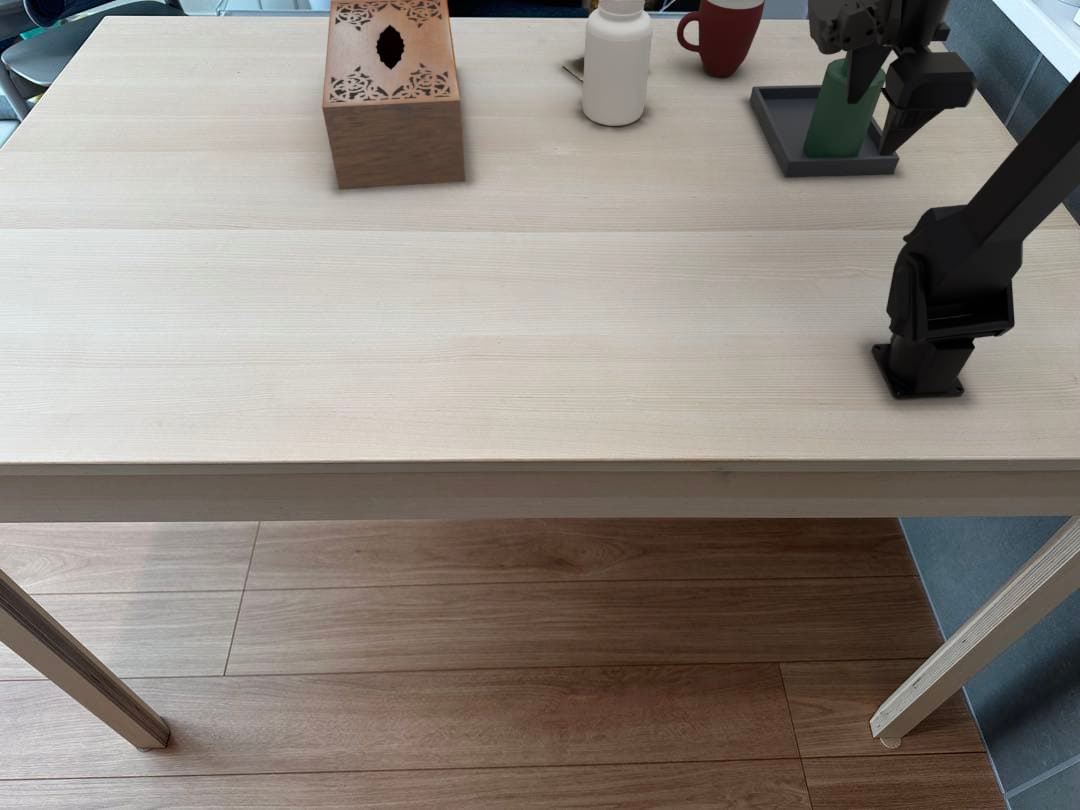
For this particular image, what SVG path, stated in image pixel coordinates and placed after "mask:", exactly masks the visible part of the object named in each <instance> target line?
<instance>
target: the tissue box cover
mask: <svg viewBox="0 0 1080 810" xmlns="http://www.w3.org/2000/svg"><path fill="white" fill-rule="evenodd" d="M327 30H328V31H327V42H326V56H325V65H324V66H325V68H324V79H323V80H324V81H323V91H322V92H323V93H322V104H321V109H322V113H323V118H324V123H325V128H326V133H327V137H328V142H329V147H330V152H331V157H332V163H333V166H334V171H335V176H336V181H337V186H338V189H339V190H350V189H363V188H366V189H367V188H379V187H381V188H382V187H395V186H396V187H397V186H411V185H426V184H428V185H429V184H442V183H459V182H460V183H461V182H466V181H467V179H466V166H465V164H466V163H465V148H464V135H463V134H464V133H463V121H462V119H463V118H462V104H461V93H460V87H459V79H458V72H457V71H458V70H457V65H456V57H455V50H454V42H453V35H452V26H451V19H450V12H449V6H448V0H330V5H329V18H328V29H327Z"/></svg>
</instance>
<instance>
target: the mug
mask: <svg viewBox="0 0 1080 810" xmlns="http://www.w3.org/2000/svg"><path fill="white" fill-rule="evenodd" d="M765 3H766V0H700V4H699V7H698V11H689V12H687V13H686V14H684V15H683V17H682V18H681V19H680V20H679V22H678V24H677V27H676V39H677V42H678V44H679V45H680V46H681V47H682V48H683V49H685V50H686V51H689V52H694V53H698V55H699V57H700V60H701V63H702V66H703V69H704V71H705V73H707V75H710V76H712V77H714V78H728V77H731V76H732V75H734V73H736V71H737V70H738V68H739V67H740V66H741V65H742V64H743V62H744V61H745V60H746V58H747V56H748V54H749V51H750V49H751V47H752V44H753V42H754V39H755V36H756V35H757V31H758V29H759V27H760V24H761V21H762V17H763V12H764V9H765ZM691 22H698V23H697V24H698V44H693V43H690V42H688V41H687V39H686V38H685V35H684V34H685V33H684V32H685V29H686V27H687V25H688V24H689V23H691Z"/></svg>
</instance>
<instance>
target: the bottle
mask: <svg viewBox="0 0 1080 810" xmlns="http://www.w3.org/2000/svg"><path fill="white" fill-rule="evenodd" d="M886 73H887V72H885V70H884V69H883V68H882V67H881V69H880V70H879V72H878V74H877V75H876V77H875V78H874V80H873V82H872V83H871V85H870V86H869V88H868V90H867V91H866V92H865V94H864V95H863V97H862V98H861V99H860V101H859V102H858V103H857V104H848V103H847V102H846V90H847V52H846V53H845V57H842V58H838V59H837V58H836V59H834V60H832V61H831V62H828V63H827V67H826V69H825V72H824V76H823V80H822V82H821V85H822V86H821V89H820V92H819V96H818V99H817V102H816V106H815V109H814V112H813V116H812V119H811V122H810V126H809V129H808V132H807V136H806V139H805V142H804V146H803V150H804V152H805V154H806V155H807V156H808V157H809V158H833V157H858V155H859V152H860V149H861V146H862V143H863V141H864V138H865V135H866V132H867V130H868V127H869V124H870V121H871V119H872V116H873V117H874V113H875V110H876V108H877V105H878V102H879V99H880V96H881V95H882V92H881V90H880V88H884V86H885V76H886Z"/></svg>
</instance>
